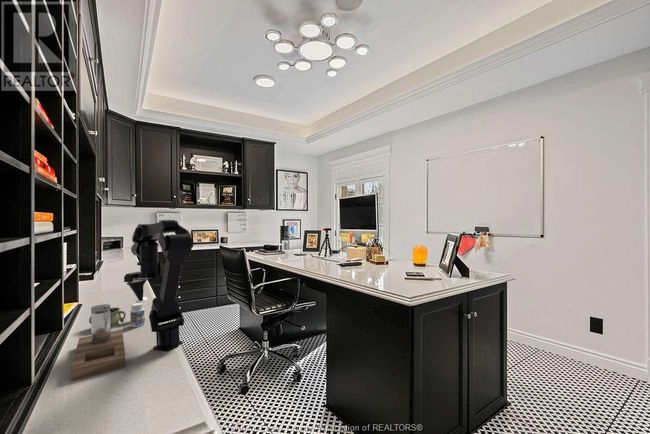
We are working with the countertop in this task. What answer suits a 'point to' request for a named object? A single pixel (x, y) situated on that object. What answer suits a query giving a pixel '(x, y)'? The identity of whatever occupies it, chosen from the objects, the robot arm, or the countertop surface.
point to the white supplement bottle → (143, 304)
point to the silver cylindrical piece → (100, 324)
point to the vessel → (114, 317)
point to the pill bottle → (137, 315)
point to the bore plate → (98, 356)
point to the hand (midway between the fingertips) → (150, 301)
